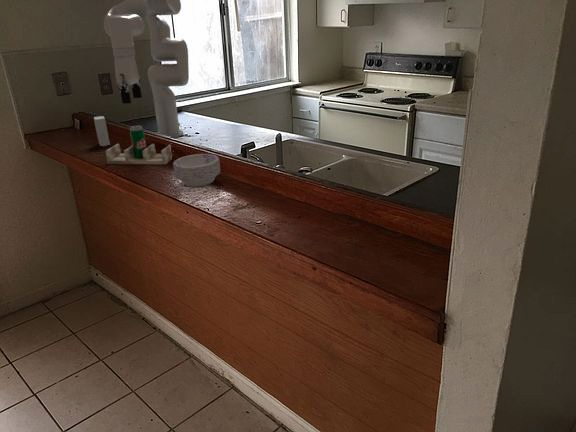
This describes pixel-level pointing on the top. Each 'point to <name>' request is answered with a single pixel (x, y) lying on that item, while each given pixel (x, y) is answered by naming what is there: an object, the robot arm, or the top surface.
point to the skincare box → (101, 131)
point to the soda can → (138, 141)
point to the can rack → (128, 158)
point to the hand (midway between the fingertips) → (132, 100)
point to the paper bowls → (197, 169)
